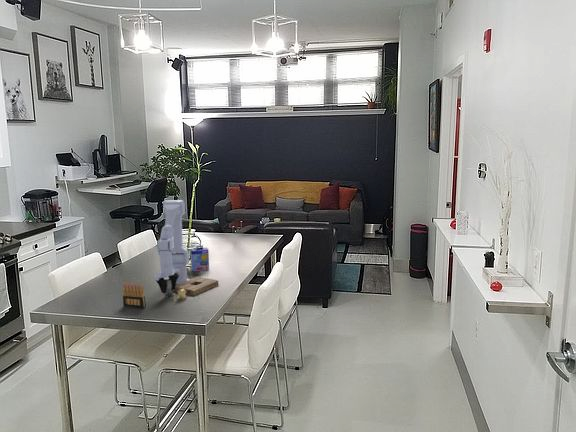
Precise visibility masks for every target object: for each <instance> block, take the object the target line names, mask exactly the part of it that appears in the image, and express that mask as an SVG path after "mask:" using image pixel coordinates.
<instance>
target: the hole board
mask: <svg viewBox="0 0 576 432" xmlns="http://www.w3.org/2000/svg"><path fill="white" fill-rule="evenodd" d="M216 285H218V286H219V280H218V279H212V278H206V277H202V276H196V277H194V278H191V280H188V281H185V282H183V283H180V284H176V286H175V289H174V290H173V289H172V292H176V293H178V289H185V290H186V295H189V296H196V295H198V294H201V293H203V292H206V291H208V290H210V288H211V289H213V288H215V287H217V286H216ZM214 286H215V287H214ZM212 287H213V288H212Z"/></svg>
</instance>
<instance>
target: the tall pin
mask: <svg viewBox="0 0 576 432" xmlns="http://www.w3.org/2000/svg"><path fill="white" fill-rule="evenodd" d="M164 280H167V282H166V293H164V297H165V298H170V297H173V289H172V282H171V279H169V278H164Z"/></svg>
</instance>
